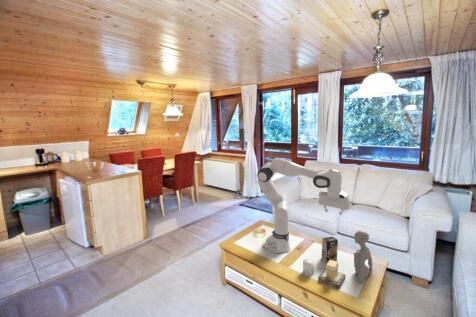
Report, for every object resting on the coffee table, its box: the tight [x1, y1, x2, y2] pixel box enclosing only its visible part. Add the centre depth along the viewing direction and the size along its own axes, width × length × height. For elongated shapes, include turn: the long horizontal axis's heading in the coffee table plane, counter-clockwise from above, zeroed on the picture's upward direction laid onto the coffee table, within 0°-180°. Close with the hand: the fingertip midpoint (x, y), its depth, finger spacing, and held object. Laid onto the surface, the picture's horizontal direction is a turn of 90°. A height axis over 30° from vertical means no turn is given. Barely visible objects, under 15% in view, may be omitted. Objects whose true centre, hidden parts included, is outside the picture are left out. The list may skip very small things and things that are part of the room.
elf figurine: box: [353, 230, 373, 285], centre depth 159 cm, size 23×10×30 cm, turn 135°
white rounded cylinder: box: [302, 258, 315, 277], centre depth 163 cm, size 7×7×8 cm
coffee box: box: [321, 235, 339, 263], centre depth 177 cm, size 9×6×16 cm
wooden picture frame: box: [317, 266, 346, 289], centre depth 156 cm, size 13×13×3 cm
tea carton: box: [325, 260, 339, 279], centre depth 155 cm, size 5×7×8 cm
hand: (333, 212), depth 165 cm, fingers open, 8 cm apart
